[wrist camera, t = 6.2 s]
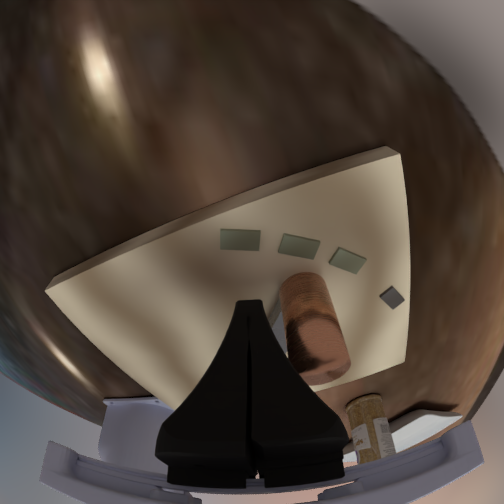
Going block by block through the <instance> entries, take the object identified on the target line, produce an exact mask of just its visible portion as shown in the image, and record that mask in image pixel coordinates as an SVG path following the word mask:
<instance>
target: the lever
mask: <svg viewBox="0 0 504 504" xmlns="http://www.w3.org/2000/svg"><path fill="white" fill-rule="evenodd" d="M279 295H280V297H279V299H278V301H277V303H276V305H275V307H274V309H273V311H272V313H271V315H270V317H269V319H268V321H269V324H270V326H271V328H272V330H273V332H274V335H275V337H276V339H277V340H278V342H279V344H280V346H281V348H282V349H283V351H284V353H285V354H286V352H287V353H288V359H289V361H290V362H291V364H292V365H293V366H294V368H295V369H296V371H297V372H298V373H299V375H300V376H301V377H302V378H303V380H304V381H305V382H306V383H307V384H308V385H309V386H315V385H322V384H326V383H329V382H332V381H334V380H336V379H338V378H340V377H341V376H343V375H344V374H345V373H346V372H347V371H348V370H349V368H350V366H351V360H350V357H349V353H348V350H347V347H346V343H345V340H344V337H343V334H342V330H341V327H340V324H339V321H338V318H337V315H336V312H335V309H334V306H333V303H332V300H331V297H330V294H329V291H328V288H327V285H326V282H325V280H324V279H323V278H322V277H321V276H320V275H318V274H316V273H312V272H301V273H297V274H294V275H292V276H290V277H289V278H287V279H286V280H285V281H284V282H283V284H282V285H281V287H280V290H279Z"/></svg>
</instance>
